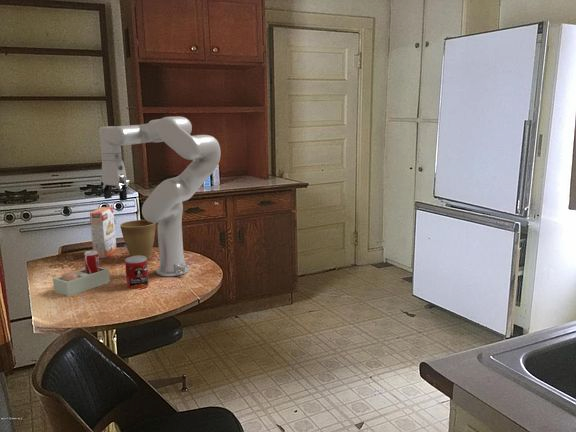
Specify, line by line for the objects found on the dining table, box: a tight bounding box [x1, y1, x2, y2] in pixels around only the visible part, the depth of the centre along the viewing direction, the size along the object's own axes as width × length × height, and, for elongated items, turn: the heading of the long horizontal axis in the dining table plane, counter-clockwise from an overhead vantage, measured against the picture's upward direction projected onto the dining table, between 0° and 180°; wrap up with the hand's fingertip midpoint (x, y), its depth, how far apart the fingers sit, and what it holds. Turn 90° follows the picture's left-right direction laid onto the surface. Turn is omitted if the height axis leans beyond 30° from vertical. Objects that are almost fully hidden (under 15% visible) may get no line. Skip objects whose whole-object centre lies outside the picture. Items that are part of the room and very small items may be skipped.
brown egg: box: [61, 271, 78, 281], centre depth 179 cm, size 5×5×6 cm
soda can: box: [83, 249, 101, 274], centre depth 186 cm, size 5×5×12 cm
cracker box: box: [89, 206, 117, 259], centre depth 225 cm, size 14×6×21 cm, turn 179°
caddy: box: [52, 266, 111, 297], centre depth 183 cm, size 8×17×6 cm, turn 146°
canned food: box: [124, 255, 150, 291], centre depth 183 cm, size 8×8×11 cm
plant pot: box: [119, 219, 157, 260], centre depth 218 cm, size 15×15×16 cm
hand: (115, 199), depth 205 cm, fingers open, 9 cm apart
